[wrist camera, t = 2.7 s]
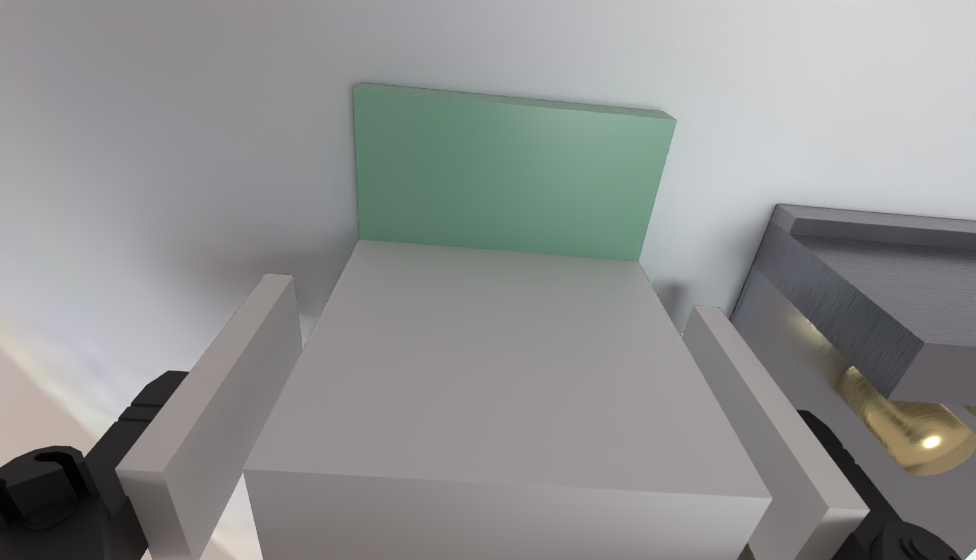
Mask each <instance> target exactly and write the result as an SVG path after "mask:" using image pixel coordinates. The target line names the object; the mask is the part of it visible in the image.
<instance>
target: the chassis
mask: <svg viewBox="0 0 976 560" xmlns="http://www.w3.org/2000/svg"><path fill="white" fill-rule="evenodd" d="M730 322H731V324H732V325H733V326H734V328H735V329H736V330H737V332H738V333H739V334H740V336H741V337H742V338H743V340H744V341H745V342H746V344H747V345H748V346H749V348H750V349H751V350H752V352H753V353H754V354H755V356H756V357H757V359H758V360H759V361H760V363H761V364H762V365H763V367H764V368H765V369H766V371H767V372H768V373H769V375H770V376H771V377H772V379H773V380H774V381H775V383H776V384H777V385H778V387H779V388H780V389H781V391H782V392H783V394H784V395H785V396H786V398H787V399H788V400H789V402H790V403H791V404H792V406H793V407H794V408H795V410H808V411H809V412H811V413H812V414H813V415H814V416H816V417H817V418H818V419H819V420H821V421H822V422H823V423H824V424H826V425H827V426H828V427H829V428H830V429H831V430H832V432H833V433H834V434H835V436H836V437H837V438H838V439H839V441H840V442H841V443H842V444H843V448H844V449H847V451H848V452H849V453H850V454H851V456H852V457H853V458H854V460H855V464H858V465H859V466H860V467H861V468H862V470H863V471H864V472H865V473H866V475H867V476H868V477H869V479H870V480H871V481H872V482H873V484H874V485H875V486H876V487H877V489H878V490H879V491H880V492H881V494H882V495H883V496H884V498H885V499H886V500H887V501H888V503H889V504H890V505H891V506H892V508H893V509H894V510H895V511H896V513H897V514H898V515H899V517H900V518H901V519H902V520H903V521H904V522H909V523H911V524H914V525H917V526H920V527H922V528H924V529H926V530H928V531H929V532H931V533H933V534H934V535H936V536H938V537H939V538H940V539H942V540H943V541H944V542H945V543H946V544H948V545H949V546H950V547H951V548H952V549H954V551H955V552H956V553H957V554H958V555H959V557H960V558H961V559H962V560H965V559H966V558H967V557H968V556H969V555H970V554H971V553H972V552H973V551H974V550H975V549H976V221H966V220H954V219H943V218H931V217H920V216H908V215H897V214H885V213H874V212H862V211H851V210H839V209H828V208H816V207H805V206H793V205H782V204H777V206H776V209H775V211H774V214H773V216H772V219H771V221H770V224H769V226H768V229H767V231H766V234H765V236H764V238H763V241H762V243H761V246H760V248H759V251H758V253H757V256H756V258H755V261H754V263H753V265H752V268H751V270H750V273H749V275H748V278H747V280H746V283H745V285H744V288H743V290H742V292H741V295H740V297H739V300H738V302H737V305H736V307H735V310H734V312H733V315H732V317H731V320H730ZM737 560H756V559H755V557H754V555H753V553H752V551H751V549H750V547H749V544H748V542H747V543H746V545H745V547H744V549H743V550H742V552H741V554H740V555H739V557H738V559H737Z"/></svg>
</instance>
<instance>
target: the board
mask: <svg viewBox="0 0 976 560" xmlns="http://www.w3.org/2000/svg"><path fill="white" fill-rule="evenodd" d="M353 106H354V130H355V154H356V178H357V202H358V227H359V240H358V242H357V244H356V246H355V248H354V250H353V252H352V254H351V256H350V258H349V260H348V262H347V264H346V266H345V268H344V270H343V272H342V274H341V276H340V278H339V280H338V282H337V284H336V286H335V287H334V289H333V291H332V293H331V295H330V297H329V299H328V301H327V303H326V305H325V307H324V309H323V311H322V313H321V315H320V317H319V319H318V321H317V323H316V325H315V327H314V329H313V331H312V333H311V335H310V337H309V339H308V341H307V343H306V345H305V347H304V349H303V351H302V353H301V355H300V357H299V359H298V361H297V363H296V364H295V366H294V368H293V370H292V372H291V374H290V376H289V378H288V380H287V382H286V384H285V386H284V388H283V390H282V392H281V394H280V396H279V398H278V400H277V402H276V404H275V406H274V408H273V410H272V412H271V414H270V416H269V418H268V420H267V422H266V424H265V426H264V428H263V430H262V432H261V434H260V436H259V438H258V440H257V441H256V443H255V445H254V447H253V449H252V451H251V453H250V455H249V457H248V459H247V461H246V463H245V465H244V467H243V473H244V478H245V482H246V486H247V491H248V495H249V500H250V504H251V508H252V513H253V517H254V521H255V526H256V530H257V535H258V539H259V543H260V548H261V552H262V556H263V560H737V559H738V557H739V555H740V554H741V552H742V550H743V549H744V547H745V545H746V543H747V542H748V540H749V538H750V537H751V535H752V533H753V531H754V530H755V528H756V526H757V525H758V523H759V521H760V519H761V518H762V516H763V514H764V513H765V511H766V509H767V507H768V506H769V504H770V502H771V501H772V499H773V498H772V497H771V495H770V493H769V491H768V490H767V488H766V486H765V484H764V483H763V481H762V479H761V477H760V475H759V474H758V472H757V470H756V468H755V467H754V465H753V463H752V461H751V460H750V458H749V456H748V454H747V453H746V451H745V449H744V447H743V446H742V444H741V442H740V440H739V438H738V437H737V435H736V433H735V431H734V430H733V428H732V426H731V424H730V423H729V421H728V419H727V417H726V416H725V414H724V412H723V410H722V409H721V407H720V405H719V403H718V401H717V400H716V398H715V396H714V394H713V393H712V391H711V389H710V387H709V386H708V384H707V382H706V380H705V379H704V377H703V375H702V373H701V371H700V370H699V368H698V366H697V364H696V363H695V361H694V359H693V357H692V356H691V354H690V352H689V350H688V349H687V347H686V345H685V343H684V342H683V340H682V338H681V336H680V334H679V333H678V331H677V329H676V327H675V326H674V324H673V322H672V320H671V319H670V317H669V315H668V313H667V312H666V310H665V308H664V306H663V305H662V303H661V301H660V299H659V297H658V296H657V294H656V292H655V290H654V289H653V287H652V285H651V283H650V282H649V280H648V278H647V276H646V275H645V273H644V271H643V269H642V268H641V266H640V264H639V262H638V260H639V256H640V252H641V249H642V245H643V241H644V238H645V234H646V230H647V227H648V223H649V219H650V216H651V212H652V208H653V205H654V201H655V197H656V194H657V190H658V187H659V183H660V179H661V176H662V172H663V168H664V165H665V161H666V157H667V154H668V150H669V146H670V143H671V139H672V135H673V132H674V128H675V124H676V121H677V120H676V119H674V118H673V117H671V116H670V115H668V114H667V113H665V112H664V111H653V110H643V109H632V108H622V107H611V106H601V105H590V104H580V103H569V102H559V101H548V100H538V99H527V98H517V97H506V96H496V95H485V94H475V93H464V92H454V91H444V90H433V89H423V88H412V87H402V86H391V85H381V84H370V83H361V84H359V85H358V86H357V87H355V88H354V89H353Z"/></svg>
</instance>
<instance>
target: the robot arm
mask: <svg viewBox="0 0 976 560" xmlns="http://www.w3.org/2000/svg"><path fill="white" fill-rule="evenodd" d="M682 340H683V342H684V343H685V345H686V347H687V349H688V350H689V352H690V354H691V356H692V357H693V359H694V361H695V363H696V364H697V366H698V368H699V370H700V371H701V373H702V375H703V377H704V379H705V380H706V382H707V384H708V386H709V387H710V389H711V391H712V393H713V394H714V396H715V398H716V400H717V401H718V403H719V405H720V407H721V409H722V410H723V412H724V414H725V416H726V417H727V419H728V421H729V423H730V424H731V426H732V428H733V430H734V431H735V433H736V435H737V437H738V438H739V440H740V442H741V444H742V446H743V447H744V449H745V451H746V453H747V454H748V456H749V458H750V460H751V461H752V463H753V465H754V467H755V468H756V470H757V472H758V474H759V475H760V477H761V479H762V481H763V483H764V484H765V486H766V488H767V490H768V491H769V493H770V495H771V497H772V498H773V499H772V501H771V502H770V504H769V506H768V507H767V509H766V511H765V513H764V514H763V516H762V518H761V519H760V521H759V523H758V525H757V526H756V528H755V530H754V531H753V533H752V535H751V537H750V538H749V540H748V544H749V547H750V549H751V551H752V553H753V555H754V557H755V559H756V560H962V559H961V558H960V557H959V555H958V554H957V553H956V552H955V551H954V549H952V548H951V547H950V546H949V545H948V544H946V543H945V542H944V541H943V540H942V539H940V538H939V537H938V536H936V535H934V534H933V533H931V532H929V531H928V530H926V529H924V528H922V527H920V526H917V525H914V524H911V523H909V522H904V521H903V520H902V519H901V518H900V517H899V515H898V514H897V513H896V511H895V510H894V509H893V508H892V506H891V505H890V504H889V503H888V501H887V500H886V499H885V498H884V496H883V495H882V494H881V492H880V491H879V490H878V489H877V487H876V486H875V485H874V484H873V482H872V481H871V480H870V479H869V477H868V476H867V475H866V473H865V472H864V471H863V470H862V468H861V467H860V466H859V465H858V464H855V460H854V458H853V457H852V456H851V454H850V453H849V452H848V451H847V449H844V448H843V444H842V443H841V442H840V441H839V439H838V438H837V437H836V436H835V434H834V433H833V432H832V430H831V429H830V428H829V427H828V426H827V425H826V424H824V423H823V422H822V421H821V420H819V419H818V418H817V417H816V416H814V415H813V414H812V413H811V412H809V411H808V410H795V408H794V407H793V406H792V404H791V403H790V402H789V400H788V399H787V398H786V396H785V395H784V394H783V392H782V391H781V389H780V388H779V387H778V385H777V384H776V383H775V381H774V380H773V379H772V377H771V376H770V375H769V373H768V372H767V371H766V369H765V368H764V367H763V365H762V364H761V363H760V361H759V360H758V359H757V357H756V356H755V354H754V353H753V352H752V350H751V349H750V348H749V346H748V345H747V344H746V342H745V341H744V340H743V338H742V337H741V336H740V334H739V333H738V332H737V330H736V329H735V328H734V326H733V325H732V324H731V322H730V321H729V319H728V318H727V317H726V315H725V314H724V313H723V311H722V310H721V309H720V307H709V306H695V305H694V307H693V310H692V313H691V316H690V318H689V321H688V324H687V327H686V330H685V332H684V335H683V338H682ZM301 353H302V342H301V334H300V325H299V317H298V308H297V300H296V292H295V283H294V275H282V274H269V273H266V274H265V275H264V276H263V278H262V279H261V280H260V282H259V283H258V284H257V285H256V287H255V288H254V289H253V291H252V292H251V293H250V295H249V296H248V297H247V298H246V300H245V301H244V302H243V304H242V305H241V306H240V307H239V309H238V310H237V311H236V313H235V314H234V315H233V317H232V318H231V319H230V320H229V322H228V323H227V324H226V326H225V327H224V328H223V330H222V331H221V332H220V333H219V335H218V336H217V337H216V339H215V340H214V341H213V343H212V344H211V345H210V346H209V348H208V349H207V350H206V352H205V353H204V354H203V356H202V357H201V358H200V359H199V361H198V362H197V363H196V365H195V366H194V367H193V368H192V370H191V371H190V372H184V371H167V372H166V373H164V374H163V375H161V376H160V377H158V378H157V379H155V380H154V381H152V382H150V383H149V384H147V385H146V386H145V387H144V389H143V390H142V391H141V392H140V393H139V394H138V396H137V397H136V398H135V399H134V400H133V401H132V403H131V406H130V407H127V408H126V410H125V411H124V412H123V413H122V414H121V415H120V417H119V419H118V422H114V424H113V425H112V426H111V427H110V428H109V429H108V431H107V432H106V433H105V434H104V435H103V436H102V438H101V439H100V440H99V441H98V442H97V443H96V445H95V446H94V447H93V448H92V449H91V451H90V452H89V453H88V454H87V455H86V456H85V458H84V457H83V455H82V452H81V451H79V450H77V449H75V448H73V447H71V446H50V447H46V448H41V449H36V450H33V451H31V452H28V453H26V454H24V455H21V456H19V457H16V458H14V459H13V460H11V461H10V462H9V463H7V464H5V465H3V466H2V467H0V560H140V559H141V558H142V556H143V555H144V553H145V551H146V550H147V548H148V550H149V552H150V554H151V557H152V559H153V560H199V559H200V557H201V555H202V553H203V551H204V549H205V547H206V545H207V543H208V541H209V539H210V537H211V535H212V533H213V531H214V529H215V527H216V525H217V523H218V521H219V519H220V517H221V515H222V513H223V511H224V509H225V507H226V505H227V503H228V501H229V499H230V497H231V495H232V493H233V491H234V489H235V487H236V485H237V483H238V481H239V479H240V477H241V475H242V473H243V467H244V465H245V463H246V461H247V459H248V457H249V455H250V453H251V451H252V449H253V447H254V445H255V443H256V441H257V440H258V438H259V436H260V434H261V432H262V430H263V428H264V426H265V424H266V422H267V420H268V418H269V416H270V414H271V412H272V410H273V408H274V406H275V404H276V402H277V400H278V398H279V396H280V394H281V392H282V390H283V388H284V386H285V384H286V382H287V380H288V378H289V376H290V374H291V372H292V370H293V368H294V366H295V364H296V363H297V361H298V359H299V357H300V355H301Z"/></svg>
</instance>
